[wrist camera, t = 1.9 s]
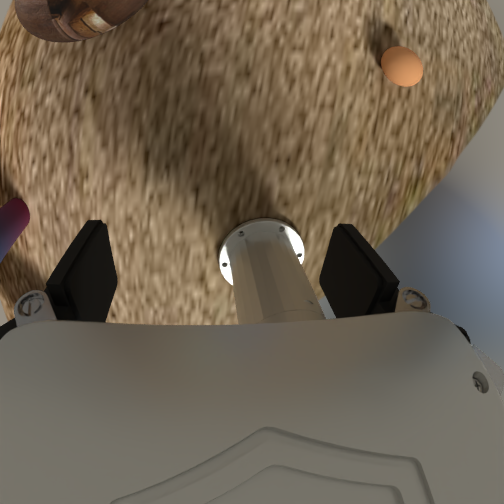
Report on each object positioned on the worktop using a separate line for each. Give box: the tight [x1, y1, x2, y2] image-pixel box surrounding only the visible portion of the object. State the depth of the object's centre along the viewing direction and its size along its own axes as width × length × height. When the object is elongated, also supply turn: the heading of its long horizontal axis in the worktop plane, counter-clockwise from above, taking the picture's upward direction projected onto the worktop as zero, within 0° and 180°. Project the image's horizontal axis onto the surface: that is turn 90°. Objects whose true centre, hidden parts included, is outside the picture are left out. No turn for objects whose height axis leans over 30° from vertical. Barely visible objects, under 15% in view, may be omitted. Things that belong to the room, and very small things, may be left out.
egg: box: [381, 46, 423, 86], centre depth 24 cm, size 6×6×6 cm
